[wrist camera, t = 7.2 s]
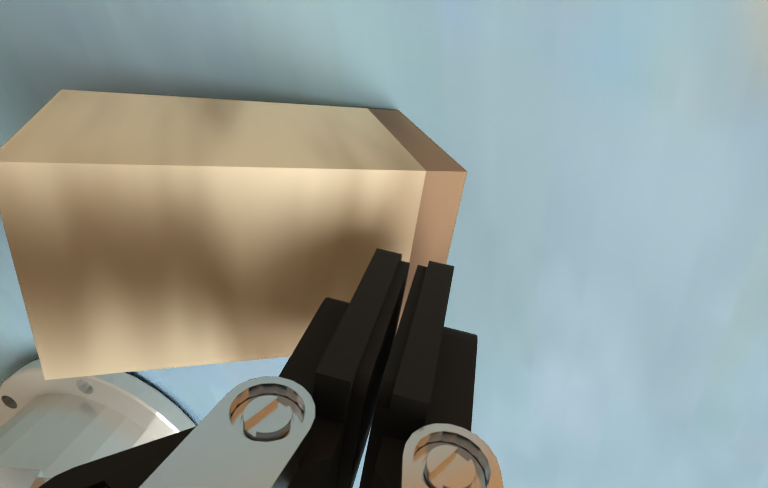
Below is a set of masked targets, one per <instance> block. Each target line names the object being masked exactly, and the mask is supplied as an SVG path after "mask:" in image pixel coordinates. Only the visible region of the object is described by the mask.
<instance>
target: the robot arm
mask: <svg viewBox="0 0 768 488" xmlns="http://www.w3.org/2000/svg"><path fill="white" fill-rule="evenodd" d="M401 259H402V254H400V253H396V252H391V251H387V250H383V249H379V248H377V249H376V251H375V253H374V255H373V257H372V259H371V261H370V263H369V265H368V267H367V269H366V271H365V273H364V275H363V277H362V279H361V281H360V283H359V285H358V287H357V289H356V291H355V293H354V295H353V297H352V299H351V301H350V303H349V302H345V301H341V300H337V299H333V298H329V297H327V298H325V299H324V301H323V302H322V304H321V305H320V307H319V309H318V310H317V312H316V314H315V315H314V317H313V319H312V321H311V322H310V324H309V326H308V327H307V329H306V331H305V333H304V334H303V336H302V338H301V339H300V341H299V343H298V344H297V346H296V348H295V350H294V351H293V353H292V355H291V356H290V358H289V360H288V362H287V363H286V365H285V367H284V368H283V370H282V372H281V373H280V375H279V377H268V376H265V377H259V378H254V379H250V380H248V381H246V382H243V383H241V384H239V385H237V386H236V387H235V388H234V389H232V390H231V391H230V392H229V393H227V394H226V395H225V397H224V398H223V399H222V400H221V401H220V402H219V403H218V404H217V405H216V406H215V407H214V408H213V409H212V410H211V411H210V412H209V414H208V415H207V416H206V417H205V418H204V419H203V420H202V421H201V422H200V423H199V424H198V425H197V426H196V425H195V424H194V423H193V422H192V421H191V420H190V418H189V417H188V416H187V415H186V414H185V413H184V412H183V411H182V410H181V409H180V408H179V407H178V406H177V405H175V404H174V403H173V402H172V401H170V400H169V399H168V398H167V397H165V396H164V395H163V394H161V393H160V392H159V391H158V390H156V389H154V388H153V387H151V386H150V385H148V384H146V383H145V382H143V381H141V380H140V379H138V378H137V377H134V376H132V375H130V374H128V373H126V372H123V373H113V374H103V375H92V376H82V377H72V378H62V379H51V380H45V378H44V374H43V371H42V367H41V363H40V360H39V359H38V360H34V361H32V362H30V363H28V364H27V365H25V366H23V367H22V368H20V369H19V370H18V371H17V372H15V373H14V374H13V375H12V376H11V377H9V378H8V379H7V380H6V381H5V382H3V383H2V385H1V386H0V488H352V487H353V484H354V481H355V477H356V474H357V471H358V468H359V464H360V461H361V458H362V454H363V451H364V448H365V445H366V441H367V438H368V435H369V431H370V436H369V441H368V446H367V451H366V456H365V461H364V466H363V471H362V476H361V481H360V487H359V488H504V487H503V481H502V475H501V470H500V467H499V464H498V461H497V458H496V456H495V455H494V453H493V452H492V450H491V449H490V448H489V446H488V445H487V444H486V443H485V442H484V441H483V440H482V439H480V438H479V437H478V436H477V435H476V434H474V433H472V432H471V423H472V409H473V395H474V382H475V368H476V354H477V335H475V334H471V333H467V332H463V331H459V330H455V329H451V328H447V327H444V321H445V315H446V310H447V304H448V299H449V293H450V287H451V282H452V276H453V270H454V266H450V265H446V264H442V263H438V262H433V261H429V263H428V267H425V266H421V265H418V266H417V269H416V272H415V275H414V278H413V281H412V285H411V288H410V291H409V294H408V297H407V301H406V304H405V307H404V310H403V313H402V316H401V320H400V323H399V326H398V321H399V316H400V311H401V306H402V302H403V297H404V292H405V287H406V282H407V277H408V272H409V267H410V263H409V262H405V261H401ZM397 326H398V329H397ZM396 331H397V332H396ZM370 428H371V430H370Z"/></svg>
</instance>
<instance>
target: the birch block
mask: <svg viewBox="0 0 768 488" xmlns="http://www.w3.org/2000/svg"><path fill="white" fill-rule="evenodd" d="M466 175H467V171H466V170H465V169H464V168H462V167H461V166H460V165H459V164H458V163H457V162H456V161H455V160H454V159H452V158H451V157H450V156H449V155H448V154H447V153H446V152H445V151H444V150H442V149H441V148H440V147H439V146H438V145H437V144H436V143H435V142H433V141H432V140H431V139H430V138H429V137H428V136H427V135H426V134H425V133H423V132H422V131H421V130H420V129H419V128H418V127H417V126H416V125H415V124H413V123H412V122H411V121H410V120H409V119H408V118H407V117H406V116H404V115H403V114H402V113H401V112H400V111H399V110H386V109H370V108H354V107H338V106H322V105H306V104H289V103H273V102H257V101H241V100H225V99H208V98H192V97H176V96H160V95H144V94H128V93H111V92H95V91H79V90H63V89H61V90H60V91H59V92H58V93H57V94H56V95H55V96H54V97H53V98H52V99H51V100H50V101H49V102H48V103H47V104H46V105H45V106H44V107H43V108H42V109H41V110H39V111H38V112H37V113H36V114H35V115H34V116H33V117H32V118H31V119H30V120H29V121H28V122H27V123H26V124H25V125H24V126H23V127H22V128H21V129H20V130H19V131H18V132H17V133H16V134H15V135H14V136H13V137H11V138H10V139H9V140H8V141H7V142H6V143H5V144H4V145H3V146H2V147H1V148H0V214H1V217H2V221H3V225H4V229H5V232H6V236H7V240H8V244H9V247H10V251H11V255H12V259H13V262H14V266H15V270H16V274H17V277H18V281H19V285H20V288H21V292H22V296H23V300H24V303H25V307H26V311H27V315H28V318H29V322H30V326H31V330H32V333H33V337H34V341H35V345H36V348H37V352H38V356H39V360H40V363H41V367H42V371H43V374H44V378H45V380H51V379H62V378H72V377H82V376H92V375H103V374H113V373H123V372H134V371H144V370H154V369H164V368H175V367H185V366H195V365H205V364H216V363H226V362H236V361H247V360H257V359H267V358H277V357H288V356H291V355H292V353H293V351H294V350H295V348H296V346H297V344H298V343H299V341H300V339H301V338H302V336H303V334H304V333H305V331H306V329H307V327H308V326H309V324H310V322H311V321H312V319H313V317H314V315H315V314H316V312H317V310H318V309H319V307H320V305H321V304H322V302H323V301H324V299H325V298H327V297H329V298H333V299H337V300H341V301H345V302H349V303H350V301H351V299H352V297H353V295H354V293H355V291H356V289H357V287H358V285H359V283H360V281H361V279H362V277H363V275H364V273H365V271H366V269H367V267H368V265H369V263H370V261H371V259H372V257H373V255H374V253H375V251H376V249H377V248H379V249H383V250H387V251H391V252H396V253H400V254H402V259H401V261H405V262H409V263H410V267H409V272H408V277H407V282H406V287H405V292H404V297H403V302H402V306H401V311H400V316H399V321H398V326H399V323H400V320H401V316H402V313H403V310H404V307H405V304H406V301H407V297H408V294H409V291H410V288H411V285H412V281H413V278H414V275H415V272H416V269H417V266H418V265H421V266H425V267H428V263H429V261H433V262H438V263H442V264H446V262H447V258H448V253H449V249H450V244H451V240H452V236H453V231H454V227H455V223H456V218H457V214H458V210H459V205H460V201H461V197H462V192H463V188H464V184H465V179H466ZM398 326H397V329H398ZM396 332H397V331H396Z"/></svg>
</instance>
